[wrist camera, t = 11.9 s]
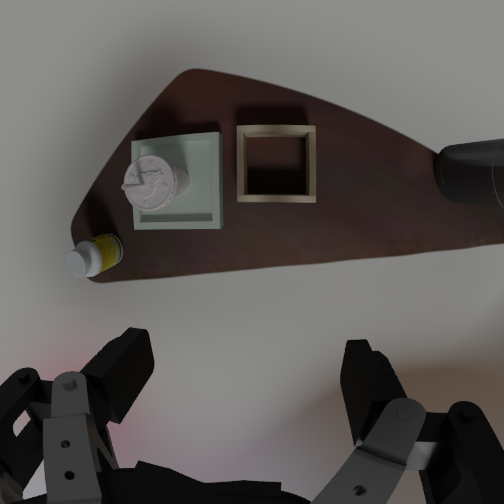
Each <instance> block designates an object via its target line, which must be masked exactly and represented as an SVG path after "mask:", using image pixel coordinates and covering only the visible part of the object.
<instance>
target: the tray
mask: <svg viewBox="0 0 504 504" xmlns="http://www.w3.org/2000/svg"><path fill="white" fill-rule="evenodd" d="M148 154H155V155H160V156H163V157H165V158H166V159H167V160H169V161H170V163H171V164H172V165H174V166H176V167H178V168H180V169H182V170H184V171H185V172H187V174H188V175H189V178H190V185H189V187H188V189H187V190H186V191H185V192H184V193H183V194H181V195H179V196H177V197H175V198H174V199H172V200H171V201H170V202H169V203H168V204H167V205H166V206H165V207H163V208H161V209H159V210H155V211H143V210H140V209H138V208H136V207H134V206H133V214H134V228H135V230H137V229H220V228H222V227H223V173H222V134H221V133H219V132H211V133H198V134H186V135H177V136H168V137H160V138H152V139H145V140H138V141H132V162H133V161H134V160H136V159H137V158H139V157H141V156H143V155H148Z"/></svg>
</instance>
